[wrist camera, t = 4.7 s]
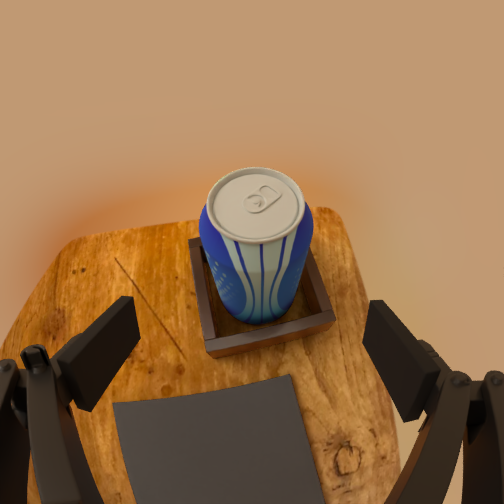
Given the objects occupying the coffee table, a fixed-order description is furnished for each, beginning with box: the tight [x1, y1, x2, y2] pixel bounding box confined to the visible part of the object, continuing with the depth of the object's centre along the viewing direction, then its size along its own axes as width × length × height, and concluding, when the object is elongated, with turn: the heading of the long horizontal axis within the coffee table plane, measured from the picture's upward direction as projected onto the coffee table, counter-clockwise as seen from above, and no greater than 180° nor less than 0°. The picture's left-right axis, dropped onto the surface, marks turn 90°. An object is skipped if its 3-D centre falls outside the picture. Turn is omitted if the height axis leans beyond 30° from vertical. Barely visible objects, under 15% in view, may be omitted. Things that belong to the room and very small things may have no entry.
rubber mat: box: [113, 374, 326, 504], centre depth 21 cm, size 20×20×1 cm
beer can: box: [199, 167, 313, 324], centre depth 26 cm, size 8×8×16 cm
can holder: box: [188, 237, 336, 359], centre depth 31 cm, size 13×13×4 cm
